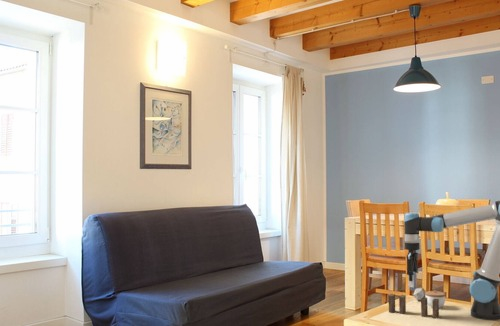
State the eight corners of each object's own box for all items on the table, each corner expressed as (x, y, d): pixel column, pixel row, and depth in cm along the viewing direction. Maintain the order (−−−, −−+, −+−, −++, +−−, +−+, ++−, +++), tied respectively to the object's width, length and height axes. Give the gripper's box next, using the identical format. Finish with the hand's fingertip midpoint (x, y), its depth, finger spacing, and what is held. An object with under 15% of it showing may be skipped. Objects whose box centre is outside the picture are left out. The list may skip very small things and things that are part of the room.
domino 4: (427, 314, 269) (427, 297, 270) (425, 317, 265) (424, 299, 266) (423, 314, 271) (423, 297, 271) (421, 316, 266) (421, 299, 267)
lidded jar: (448, 309, 281) (448, 292, 281) (429, 309, 281) (428, 292, 281) (441, 304, 291) (441, 288, 292) (422, 304, 292) (422, 288, 292)
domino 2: (405, 312, 276) (405, 295, 276) (403, 314, 271) (402, 297, 272) (402, 311, 277) (401, 294, 277) (399, 313, 272) (399, 296, 273)
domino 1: (395, 310, 279) (394, 294, 279) (392, 312, 274) (392, 295, 275) (391, 310, 280) (391, 293, 280) (388, 312, 275) (388, 295, 276)
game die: (423, 307, 300) (430, 296, 294) (409, 302, 301) (415, 290, 296) (424, 297, 307) (431, 285, 301) (410, 291, 309) (416, 280, 303)
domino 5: (438, 316, 266) (438, 298, 267) (436, 318, 262) (436, 300, 263) (434, 315, 267) (434, 298, 268) (432, 318, 263) (432, 300, 264)
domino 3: (409, 290, 270) (409, 272, 270) (412, 288, 274) (411, 271, 274) (413, 290, 269) (413, 273, 269) (415, 288, 273) (415, 271, 273)
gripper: (414, 244, 263) (415, 290, 262) (423, 240, 278) (424, 284, 277) (400, 243, 267) (400, 288, 266) (409, 239, 282) (410, 282, 281)
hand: (412, 286), depth 272 cm, fingers closed on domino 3, 5 cm apart
